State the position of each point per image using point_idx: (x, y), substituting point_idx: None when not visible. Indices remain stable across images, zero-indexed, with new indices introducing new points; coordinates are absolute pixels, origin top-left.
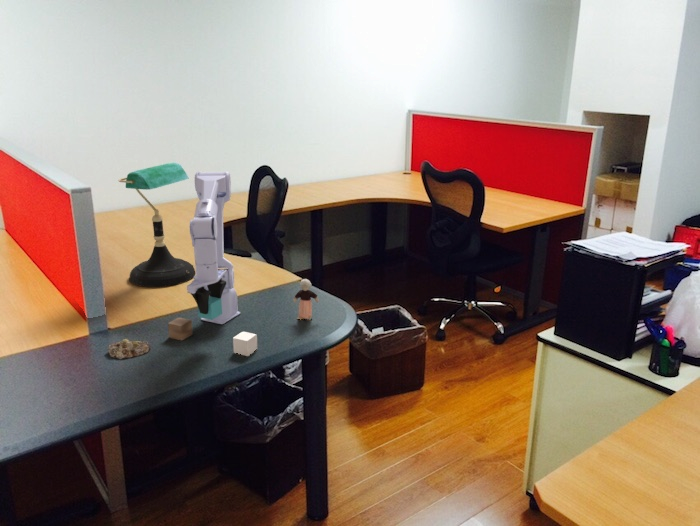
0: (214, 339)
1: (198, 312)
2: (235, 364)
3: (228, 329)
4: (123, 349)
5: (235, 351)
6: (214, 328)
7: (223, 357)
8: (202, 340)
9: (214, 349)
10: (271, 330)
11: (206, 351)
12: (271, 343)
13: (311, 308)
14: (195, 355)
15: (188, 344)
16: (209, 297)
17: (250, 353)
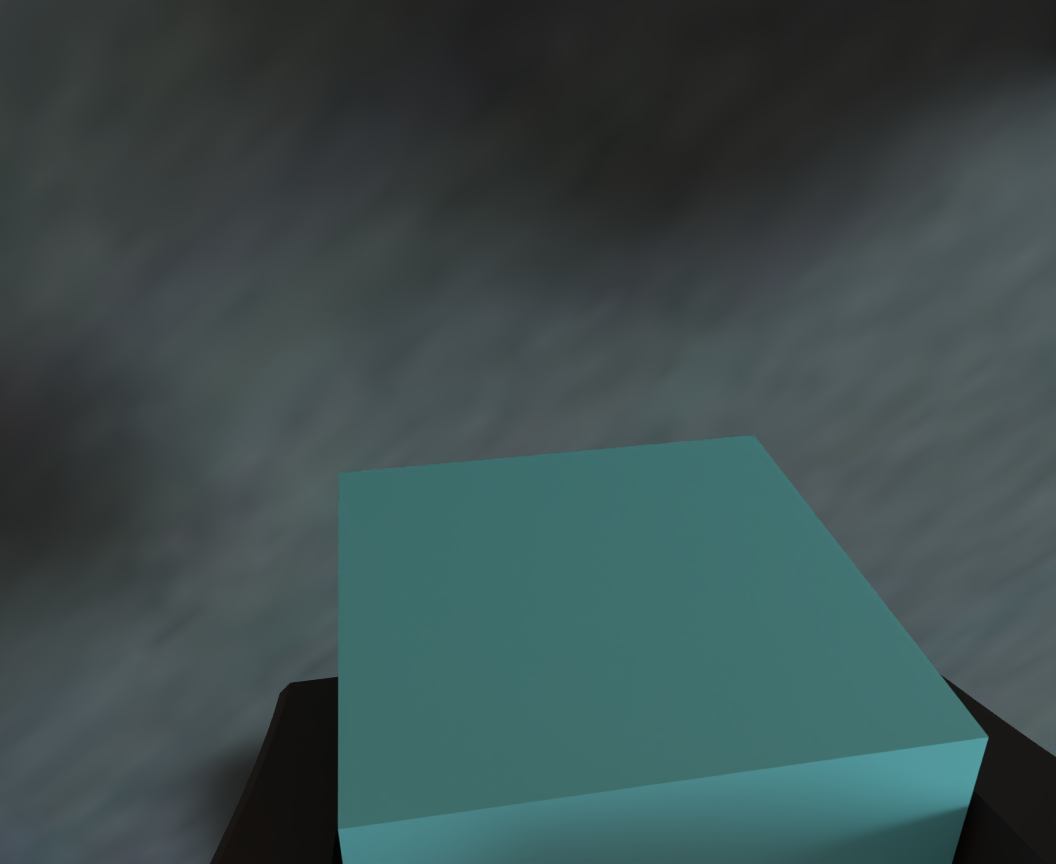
0: (586, 286)
1: (343, 559)
2: (182, 857)
3: (942, 240)
4: None
5: None
6: (926, 17)
7: (230, 689)
8: (480, 149)
9: (335, 483)
10: (1023, 665)
11: (230, 439)
12: None
13: None
14: (45, 398)
15: (249, 40)
16: (870, 860)
17: None
